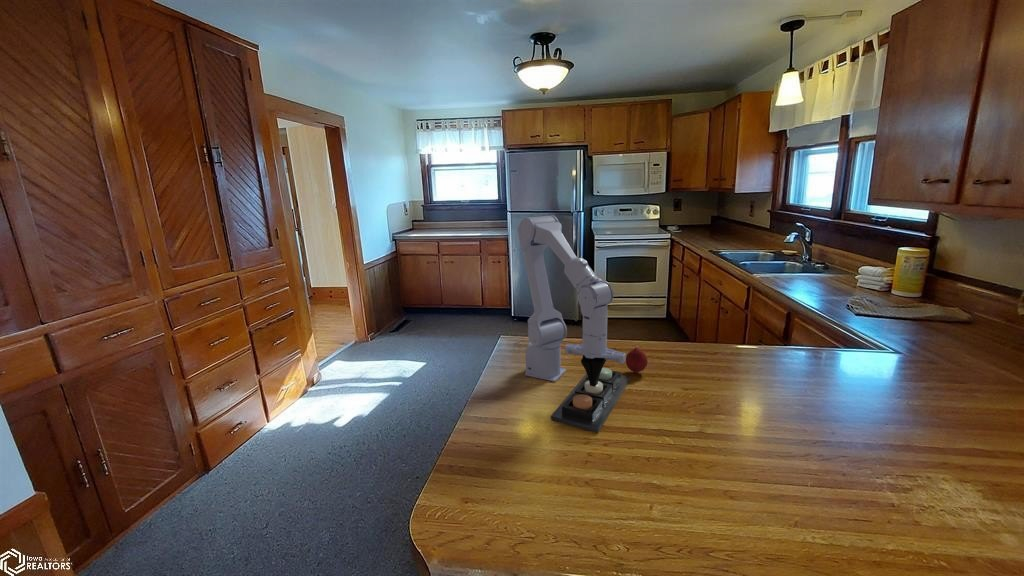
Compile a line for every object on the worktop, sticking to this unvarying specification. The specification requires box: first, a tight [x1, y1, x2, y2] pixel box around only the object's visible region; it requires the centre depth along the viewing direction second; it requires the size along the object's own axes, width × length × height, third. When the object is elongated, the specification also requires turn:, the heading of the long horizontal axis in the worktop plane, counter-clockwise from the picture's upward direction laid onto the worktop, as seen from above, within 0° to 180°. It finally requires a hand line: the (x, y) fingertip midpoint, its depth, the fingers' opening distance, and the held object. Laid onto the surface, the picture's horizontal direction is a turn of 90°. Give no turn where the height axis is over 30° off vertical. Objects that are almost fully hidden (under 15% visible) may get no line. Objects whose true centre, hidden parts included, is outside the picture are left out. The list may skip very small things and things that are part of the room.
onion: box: [625, 345, 649, 374], centre depth 114 cm, size 6×6×8 cm
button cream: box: [585, 381, 603, 395], centre depth 101 cm, size 4×4×2 cm
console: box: [550, 369, 631, 434], centre depth 102 cm, size 11×27×3 cm, turn 151°
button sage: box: [599, 367, 612, 381], centre depth 108 cm, size 4×4×2 cm
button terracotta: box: [573, 394, 592, 411], centre depth 95 cm, size 4×4×2 cm
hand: (593, 384), depth 101 cm, fingers closed, pressing on button cream
